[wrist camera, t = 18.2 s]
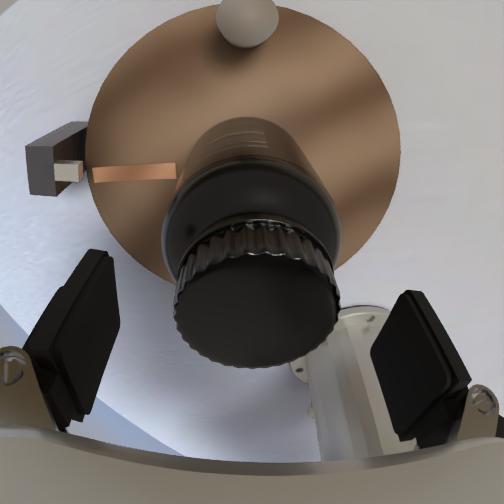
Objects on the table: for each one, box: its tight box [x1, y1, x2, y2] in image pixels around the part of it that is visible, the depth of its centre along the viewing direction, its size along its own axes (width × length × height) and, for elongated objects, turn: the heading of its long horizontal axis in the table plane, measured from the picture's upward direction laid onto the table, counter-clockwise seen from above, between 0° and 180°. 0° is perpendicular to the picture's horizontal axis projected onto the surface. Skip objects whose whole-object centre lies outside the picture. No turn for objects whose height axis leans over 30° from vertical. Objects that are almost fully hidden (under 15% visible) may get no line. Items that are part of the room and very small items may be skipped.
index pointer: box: [25, 122, 88, 197], centre depth 17 cm, size 3×4×6 cm
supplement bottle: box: [161, 117, 342, 369], centre depth 14 cm, size 7×7×12 cm
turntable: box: [85, 0, 401, 285], centre depth 18 cm, size 20×20×6 cm
